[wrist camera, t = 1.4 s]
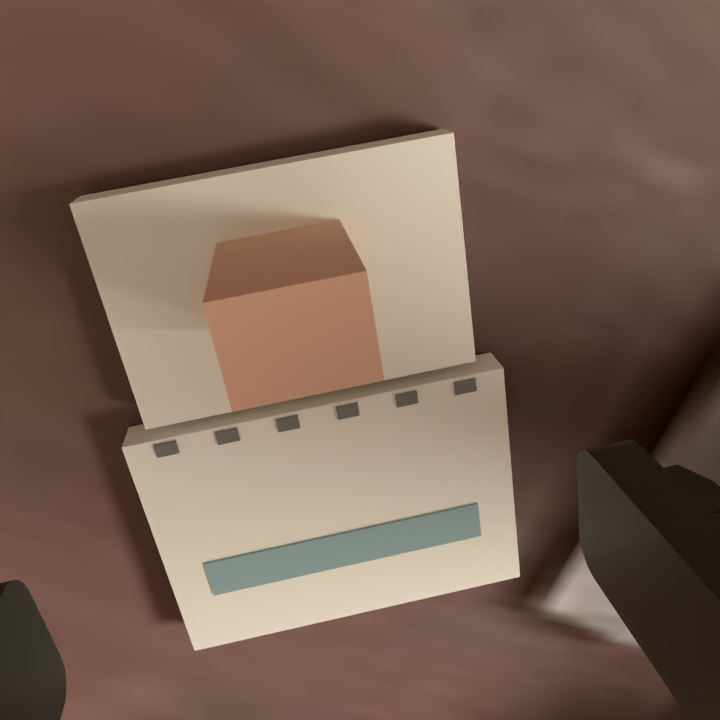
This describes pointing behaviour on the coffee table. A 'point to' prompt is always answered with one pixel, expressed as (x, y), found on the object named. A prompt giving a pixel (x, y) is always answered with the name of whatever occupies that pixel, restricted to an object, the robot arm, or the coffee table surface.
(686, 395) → the coffee table surface
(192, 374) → the block on cream base
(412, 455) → the board
